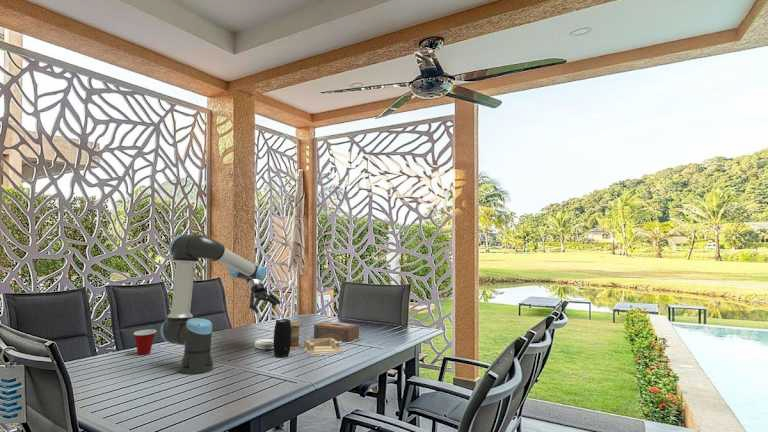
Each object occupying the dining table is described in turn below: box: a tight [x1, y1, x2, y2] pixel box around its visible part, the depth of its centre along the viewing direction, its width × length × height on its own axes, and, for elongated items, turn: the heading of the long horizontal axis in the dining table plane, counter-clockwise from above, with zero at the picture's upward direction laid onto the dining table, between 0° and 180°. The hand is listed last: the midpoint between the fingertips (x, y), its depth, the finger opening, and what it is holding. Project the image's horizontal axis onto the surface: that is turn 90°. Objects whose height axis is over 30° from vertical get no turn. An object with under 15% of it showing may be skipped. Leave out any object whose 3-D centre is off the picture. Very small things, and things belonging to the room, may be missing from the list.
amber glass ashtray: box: [301, 338, 344, 355], centre depth 240 cm, size 18×19×6 cm
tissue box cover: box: [313, 320, 360, 342], centre depth 272 cm, size 26×14×10 cm, turn 68°
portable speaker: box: [273, 318, 291, 358], centre depth 228 cm, size 9×9×20 cm
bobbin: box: [290, 321, 304, 350], centre depth 247 cm, size 8×8×14 cm
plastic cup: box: [133, 328, 157, 356], centre depth 224 cm, size 11×11×12 cm
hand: (271, 315), depth 236 cm, fingers open, 13 cm apart
